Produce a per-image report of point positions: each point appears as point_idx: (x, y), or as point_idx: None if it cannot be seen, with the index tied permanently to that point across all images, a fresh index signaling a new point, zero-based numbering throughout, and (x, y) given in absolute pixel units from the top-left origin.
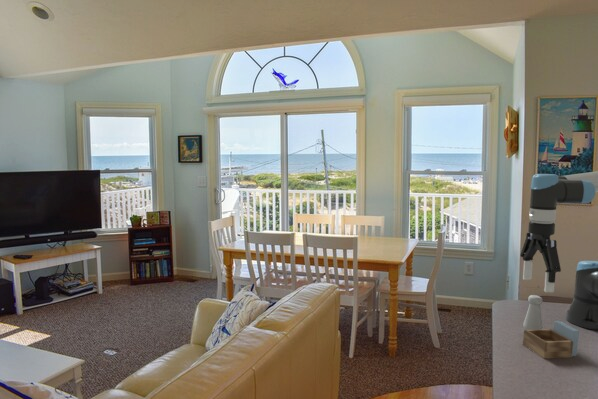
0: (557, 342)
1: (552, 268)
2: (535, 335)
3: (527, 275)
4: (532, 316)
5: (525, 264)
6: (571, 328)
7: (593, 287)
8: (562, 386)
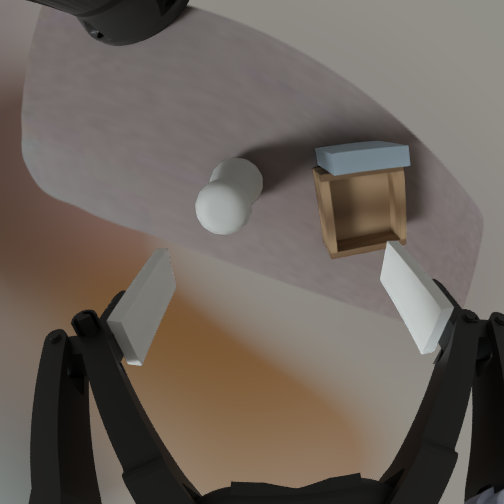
0: (405, 211)
1: (485, 363)
2: (367, 247)
3: (164, 284)
4: (251, 204)
5: (147, 345)
6: (394, 158)
7: None
8: (466, 251)
